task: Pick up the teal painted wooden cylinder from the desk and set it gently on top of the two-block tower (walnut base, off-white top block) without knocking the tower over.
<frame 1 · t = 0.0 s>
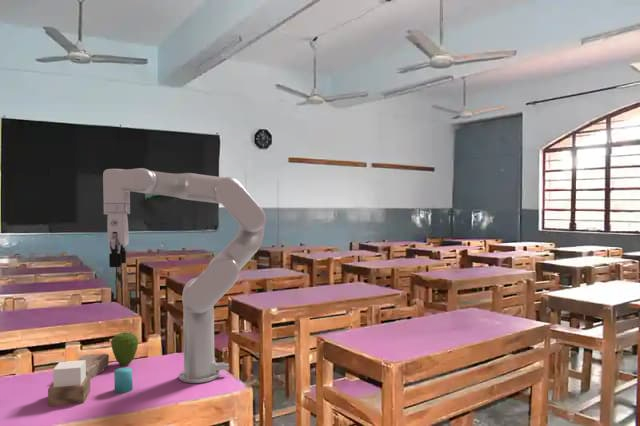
hand: (117, 265, 155), 37 cm above the table, tool pointing down, fingers open, 9 cm apart
tower base: (70, 399, 144), on the table, touching tower top
brick: (86, 375, 165), on the table
tower top: (70, 382, 144), point 5 cm above the table, touching tower base
green egg shape: (125, 365, 174), on the table
cylinder: (123, 390, 151), on the table
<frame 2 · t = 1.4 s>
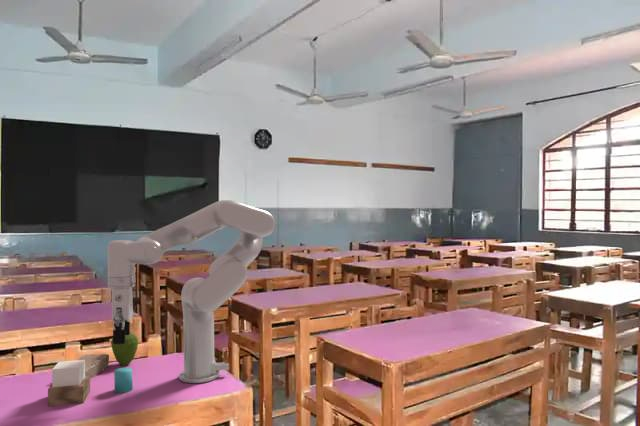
hand: (121, 339, 150), 15 cm above the table, tool pointing down, fingers open, 9 cm apart
tower base: (70, 399, 144), on the table
tower top: (69, 381, 145), point 5 cm above the table
everything else where it was.
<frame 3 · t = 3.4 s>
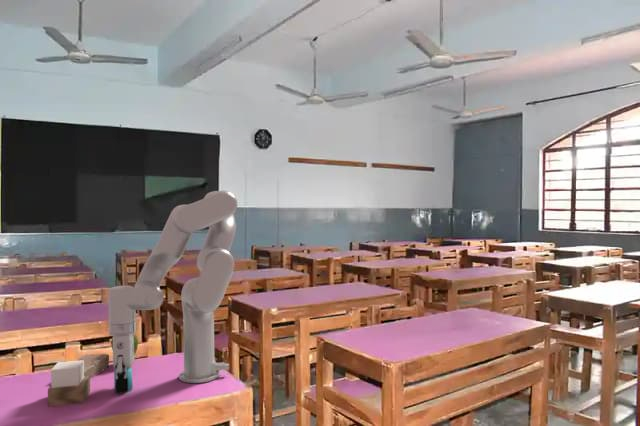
hand: (123, 387, 151), 1 cm above the table, tool pointing down, fingers closed on cylinder, 4 cm apart
tower base: (70, 399, 144), on the table, touching tower top
tower top: (68, 382, 144), point 5 cm above the table, touching tower base
cylinder: (123, 390, 151), on the table, touching gripper
everything else where it was.
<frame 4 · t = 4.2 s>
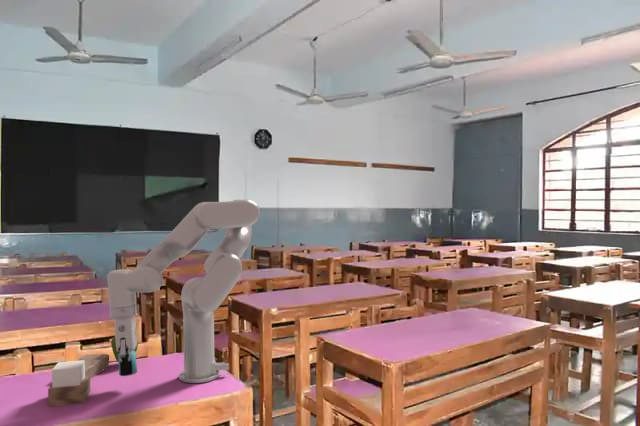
hand: (128, 370, 151), 6 cm above the table, tool pointing down, fingers closed on cylinder, 4 cm apart
tower base: (70, 399, 144), on the table
tower top: (69, 382, 144), point 5 cm above the table
cylinder: (128, 372, 151), point 5 cm above the table, touching gripper
everything else where it was.
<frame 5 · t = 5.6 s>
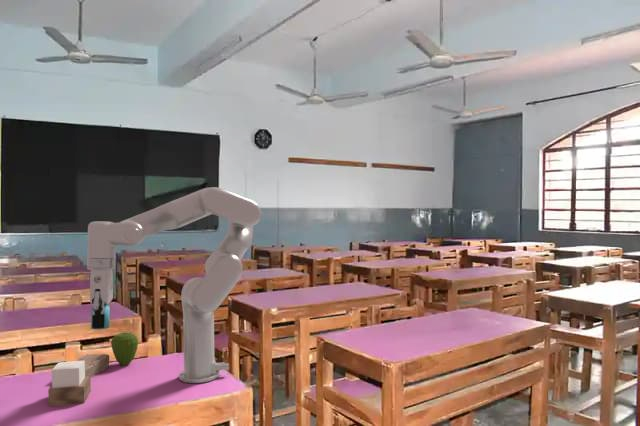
hand: (100, 325, 147), 20 cm above the table, tool pointing down, fingers closed on cylinder, 4 cm apart
tower base: (70, 399, 144), on the table, touching tower top
tower top: (69, 382, 144), point 5 cm above the table, touching tower base
cylinder: (100, 327, 147), point 19 cm above the table, touching gripper
everything else where it was.
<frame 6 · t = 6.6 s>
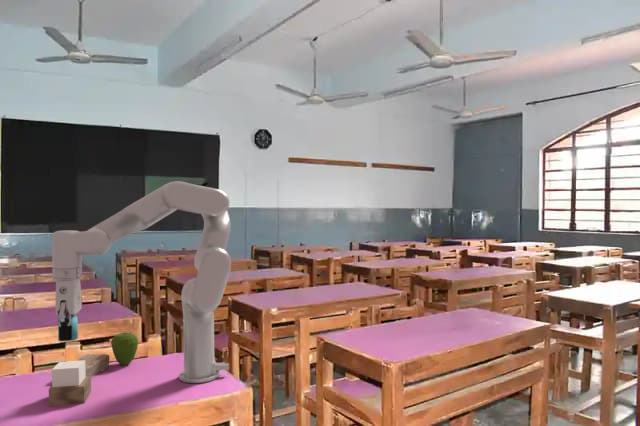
hand: (68, 336, 144), 18 cm above the table, tool pointing down, fingers closed on cylinder, 4 cm apart
cylinder: (68, 339, 144), point 17 cm above the table, touching gripper
everything else where it was.
when the fingers open (12 cm above the table, at t = 7.8 s): cylinder stays where it is, point 11 cm above the table.
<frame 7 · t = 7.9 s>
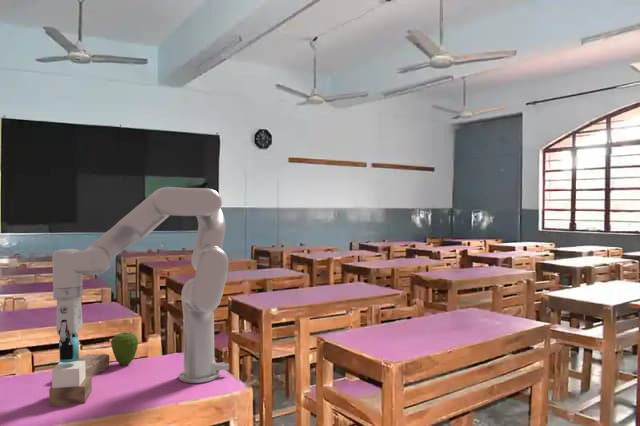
hand: (69, 355, 144), 12 cm above the table, tool pointing down, fingers open, 5 cm apart
cylinder: (69, 359, 144), point 11 cm above the table
everything else where it was.
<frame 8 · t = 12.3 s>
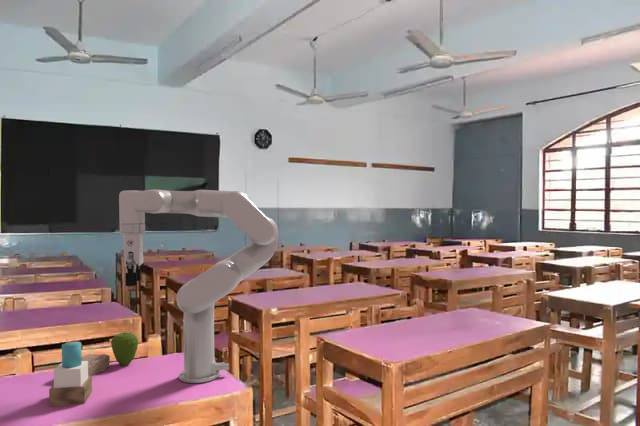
hand: (133, 283, 160), 30 cm above the table, tool pointing down, fingers open, 9 cm apart
tower top: (71, 382, 144), point 5 cm above the table, touching cylinder, tower base
cylinder: (71, 365, 144), point 10 cm above the table, touching tower top
at the end: cylinder 0.3 cm off-centre on the tower base, point 10.0 cm above the tower base's base; tower top 0.4 cm off-centre on the tower base, point 5.0 cm above the tower base's base; the gripper is holding nothing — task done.
